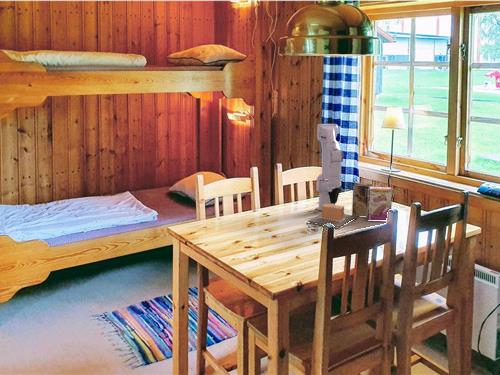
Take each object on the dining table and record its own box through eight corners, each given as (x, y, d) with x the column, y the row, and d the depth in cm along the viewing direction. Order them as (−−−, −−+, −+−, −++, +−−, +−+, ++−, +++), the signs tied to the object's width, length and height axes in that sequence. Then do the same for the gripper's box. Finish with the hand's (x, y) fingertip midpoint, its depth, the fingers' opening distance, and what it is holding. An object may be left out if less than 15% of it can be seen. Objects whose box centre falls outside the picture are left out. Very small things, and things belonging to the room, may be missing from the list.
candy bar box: (367, 221, 272) (369, 188, 268) (366, 218, 277) (368, 186, 273) (390, 222, 271) (393, 189, 267) (389, 219, 276) (391, 187, 272)
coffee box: (371, 214, 284) (373, 183, 280) (370, 218, 278) (371, 186, 274) (353, 213, 287) (354, 182, 283) (351, 216, 281) (352, 185, 277)
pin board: (327, 213, 286) (327, 204, 285) (356, 218, 277) (357, 209, 276) (308, 223, 270) (308, 213, 269) (338, 229, 261) (339, 219, 260)
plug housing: (324, 215, 278) (325, 203, 276) (343, 218, 273) (344, 206, 272) (321, 218, 274) (322, 206, 272) (340, 220, 269) (341, 208, 268)
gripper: (331, 171, 276) (330, 198, 280) (321, 177, 264) (320, 205, 267) (345, 173, 273) (344, 200, 276) (335, 179, 261) (334, 207, 264)
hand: (333, 203), depth 272 cm, fingers closed
